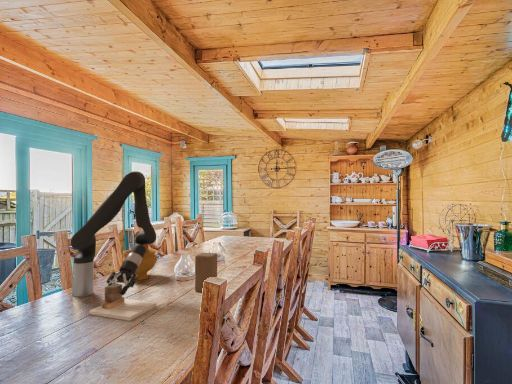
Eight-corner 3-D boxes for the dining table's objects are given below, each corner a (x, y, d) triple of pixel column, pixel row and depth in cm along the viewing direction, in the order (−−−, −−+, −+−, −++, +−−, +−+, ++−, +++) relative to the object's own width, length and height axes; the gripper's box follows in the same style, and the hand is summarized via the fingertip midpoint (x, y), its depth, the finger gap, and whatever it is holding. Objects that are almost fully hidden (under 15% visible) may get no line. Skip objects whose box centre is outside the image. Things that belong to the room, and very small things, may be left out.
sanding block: (101, 307, 139) (102, 288, 139) (116, 301, 148) (116, 282, 148) (110, 309, 138) (110, 289, 138) (124, 302, 146) (124, 283, 146)
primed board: (89, 314, 136) (89, 310, 136) (118, 300, 153) (118, 297, 153) (129, 320, 129) (129, 317, 129) (156, 306, 146) (156, 302, 146)
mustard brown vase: (138, 272, 209) (138, 228, 210) (163, 275, 202) (164, 229, 202) (114, 280, 190) (114, 231, 190) (140, 283, 182) (141, 233, 182)
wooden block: (211, 293, 165) (211, 256, 165) (194, 292, 167) (194, 255, 167) (217, 287, 175) (217, 252, 175) (201, 286, 177) (201, 252, 177)
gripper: (115, 258, 154) (97, 288, 142) (139, 260, 149) (122, 291, 138) (123, 266, 159) (106, 295, 147) (146, 268, 154) (130, 299, 143)
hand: (114, 293), depth 143 cm, fingers open, 8 cm apart
